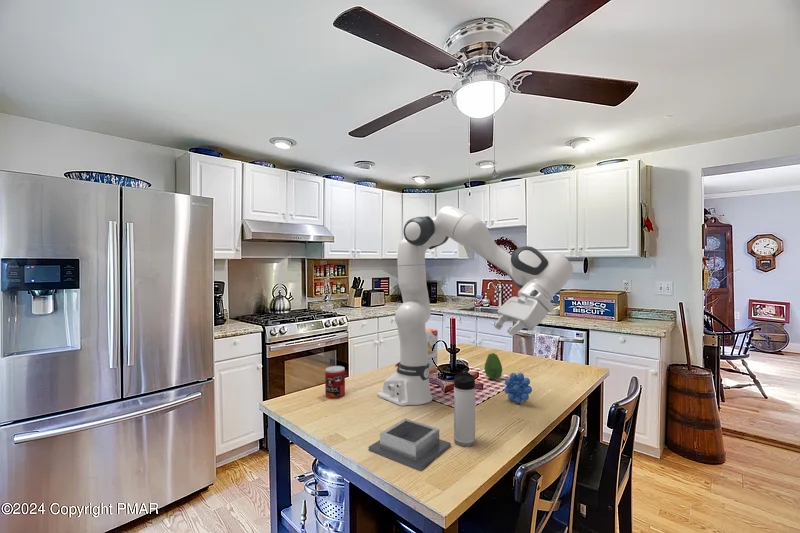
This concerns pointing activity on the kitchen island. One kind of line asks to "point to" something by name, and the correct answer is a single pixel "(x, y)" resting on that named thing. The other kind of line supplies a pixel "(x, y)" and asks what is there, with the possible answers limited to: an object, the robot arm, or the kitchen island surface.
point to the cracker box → (431, 339)
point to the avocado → (493, 367)
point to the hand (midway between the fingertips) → (502, 330)
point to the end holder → (410, 444)
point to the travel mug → (464, 409)
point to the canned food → (334, 382)
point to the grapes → (517, 387)
